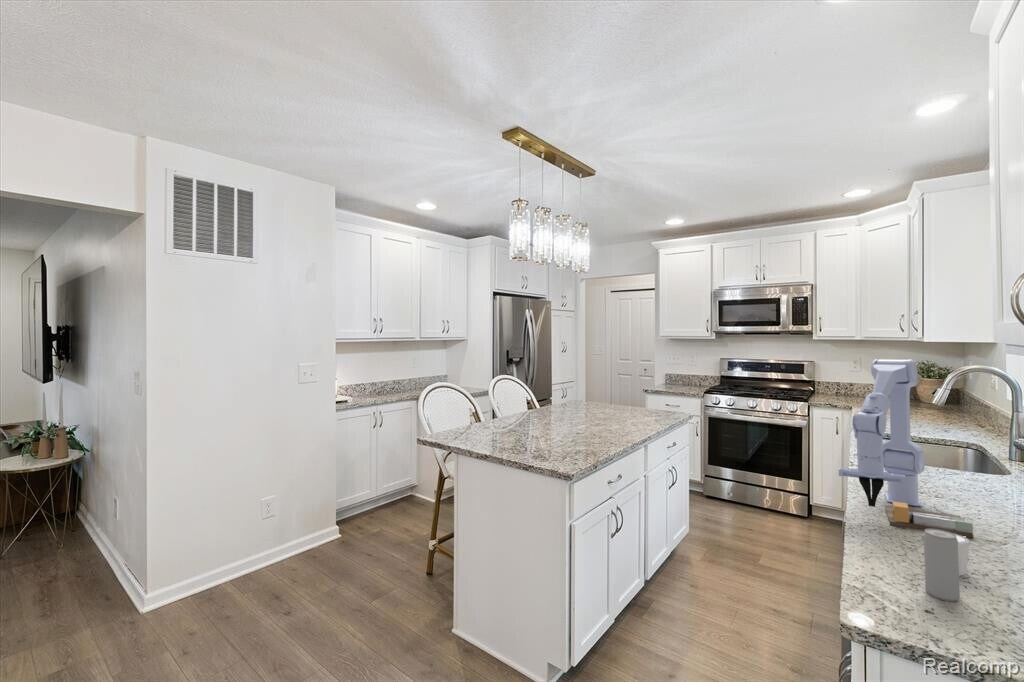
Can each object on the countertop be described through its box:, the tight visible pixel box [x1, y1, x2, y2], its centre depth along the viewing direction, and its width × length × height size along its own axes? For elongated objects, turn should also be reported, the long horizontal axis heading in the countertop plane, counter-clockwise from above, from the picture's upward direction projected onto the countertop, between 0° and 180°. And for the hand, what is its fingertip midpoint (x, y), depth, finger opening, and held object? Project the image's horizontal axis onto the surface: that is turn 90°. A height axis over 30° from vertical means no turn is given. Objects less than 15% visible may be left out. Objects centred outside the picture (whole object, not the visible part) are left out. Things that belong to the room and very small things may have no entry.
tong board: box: [884, 504, 974, 539], centre depth 124 cm, size 15×16×3 cm
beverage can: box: [923, 529, 961, 603], centre depth 88 cm, size 5×5×12 cm
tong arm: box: [913, 512, 966, 521], centre depth 120 cm, size 2×10×2 cm, turn 59°
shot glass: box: [953, 533, 971, 576], centre depth 99 cm, size 7×7×7 cm
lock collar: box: [891, 501, 910, 523], centre depth 123 cm, size 4×3×4 cm
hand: (871, 505), depth 127 cm, fingers closed
